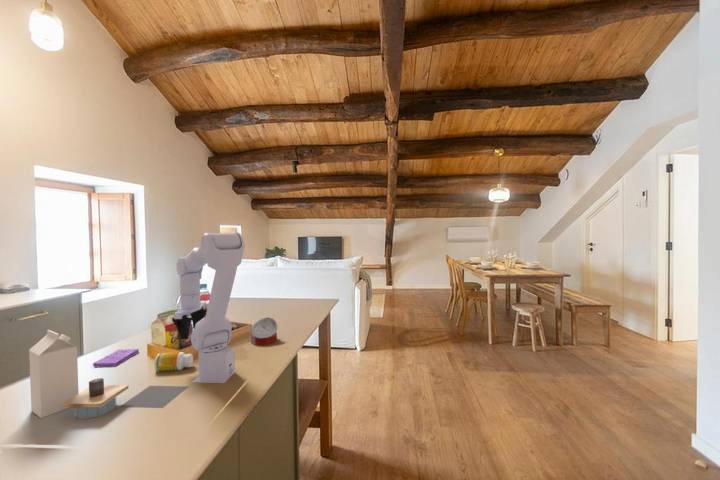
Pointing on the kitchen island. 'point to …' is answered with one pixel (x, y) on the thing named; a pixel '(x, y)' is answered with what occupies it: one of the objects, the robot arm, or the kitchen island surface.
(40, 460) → the kitchen island surface
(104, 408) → the ceramic bowl
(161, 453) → the kitchen island surface
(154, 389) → the rubber mat
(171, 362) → the supplement bottle
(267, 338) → the canned food
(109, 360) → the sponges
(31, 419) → the kitchen island surface
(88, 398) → the oak lid
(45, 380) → the milk carton
